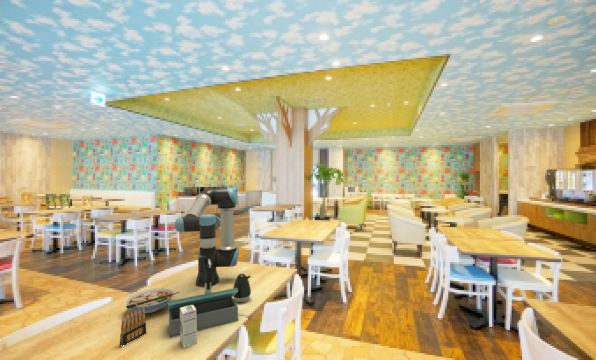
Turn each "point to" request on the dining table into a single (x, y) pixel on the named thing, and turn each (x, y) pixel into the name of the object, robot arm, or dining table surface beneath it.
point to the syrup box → (188, 325)
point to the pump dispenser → (242, 288)
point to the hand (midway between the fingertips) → (207, 295)
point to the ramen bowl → (150, 299)
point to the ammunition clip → (133, 327)
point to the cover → (201, 298)
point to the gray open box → (207, 315)
